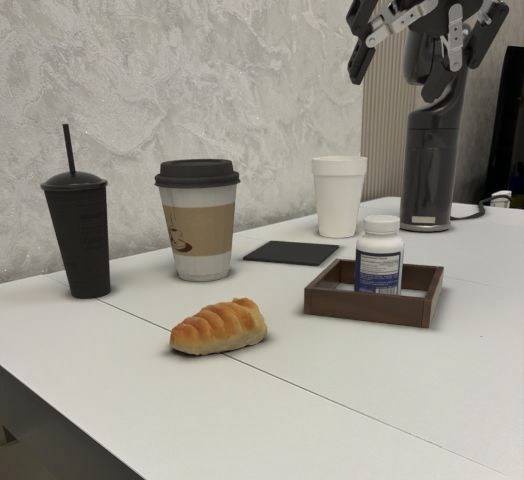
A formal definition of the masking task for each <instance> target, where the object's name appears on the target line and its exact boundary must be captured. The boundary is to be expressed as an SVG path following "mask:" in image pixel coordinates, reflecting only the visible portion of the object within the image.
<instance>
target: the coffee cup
mask: <svg viewBox="0 0 524 480" xmlns="http://www.w3.org/2000/svg"><path fill="white" fill-rule="evenodd" d="M159 166H160V167H159V173H157V174H156V175H154V181H155V182H154V184H153V185H154V186H155V187H158V191H159V192H158V193H159V197H160V201H161V206H162V210H163V215H164V220H165V224H166V228H167V229H166V230H167V234H168V239H169V244H170V247H171V252H172V257H173V260H174V265H175V270H176V271H177V273H178V277H179V278H180V279H182V280H184V281H188V282H199V283H200V282H212V281H213V282H214V281H217V280H221V279H224V278H226V277H228V276H229V274H230V269H231V264H232V262H231V261H232V251H233V238H234V226H235V225H234V224H235V211H236V201H237V200H236V199H237V186H238V184H240V183H242V181H241V179H240V171H239V172H238V171H236V170H234V164H233V160H230V159H226V158H224V159H223V158H188V159H185V158H184V159H174V160H167V161H162V162H160V165H159Z"/></svg>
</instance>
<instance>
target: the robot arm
mask: <svg viewBox="0 0 524 480" xmlns="http://www.w3.org/2000/svg"><path fill="white" fill-rule="evenodd" d="M379 1H380V0H352V2H351V4H350V6H349V9H348V11H347V13H346V15H345V21H346V24H347V26H348V27H349V29H350V32H351V34H352V35H353V36H355V37H357V42H356V43H355V46H354V47H353V50H352V52H351V55H350V56H349V57H350V58H349V60H348V62H347V67H346V68H347V69H346V70H347V72H348V77H349V79H350V83H351V84H352V85H355V86H360V85H361V84H362V82H363V80H364V78H365V76H366V73H367V71H368V69H369V68H370V65H371V63H372V60H373V58H374V56H375V54H376V52H377V49H376V48H375V47H376V46H377V45H379V44H380V43H382V42H383V41H384V40H386V39H387V38H388V37H390V36H395V35H398V34H399V33H400V32H401V31H403V30H405V29H406V28H407V32H406V36H405V40H404V45H403V50H402V56H401V75H402V79H403V81H404V82H405V83H406V84H407V85H409V86H415V87H416V86H418V87H422V88H421V91H420V97H421V98H422V100H423V102H424V103H426V104H425V105H422V106H420V107H417V108H414V109H412V110H410V111H409V112H408V114H407V115H406V123H405V124H406V125H405V128H406V129H405V138H404V149H403V151H404V152H403V163H402V176H401V187H400V189H401V190H400V202H399V213H398V217H399V218H400V228H399V229H402V230H406V231H411V232H412V231H413V232H425V233H426V232H428V233H429V232H430V233H431V232H441V231H446V230H449V229H450V228H451V221H462V220H471V219H475V218H477V217H480V216H483V215H484V214H485V213H486V208H485V207H484V204H485V203H489V202H491V201H494V200H496V199H507V200H508V201H509V202H512V203H513V202H514V199H513V198H512V196H510V195H508V194H496V195H493V196H490V197H488V198H485V199H482V200H479V202H478V206H479V210H480V211H477V212H475V213H473V214H470V215H467V216H464V217H455V216H452V215H451V214H452V209H453V208H452V207H453V199H454V190H455V182H456V174H457V164H458V156H459V149H460V148H459V147H460V139H461V130H462V129H461V128H462V120H463V116H464V115H463V114H464V110H465V103H466V96H467V95H466V94H467V88H468V81H469V75H470V70H476V69H478V68H479V67H480V66H481V64H482V62H483V60H484V58H485V56H486V55H487V53H488V51H489V50H490V47H491V46H492V44H493V42H494V40H495V38H496V37H497V35H498V33H499V31H500V29H501V28H502V26H503V24H504V22H505V20H506V19H507V16H508V15H509V13H510V7H509V5H508V4H507V3H506V2H505V1H504V0H388V1H387V2H386V3H385V4H383V5H382V6H381V7H380V8H379V11H378V12H377V13H375V14H374V15H373V13H374V11H375V9H376V7H377V5H378V3H379ZM475 14H476V19H477V20H476V22H475V23H474V25H473V27H472V25H471V24H470V23H468V22H466V21H467V20H468V19H470V18H471V17H473V16H474V15H475ZM372 15H373V16H372Z"/></svg>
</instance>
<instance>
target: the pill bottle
mask: <svg viewBox="0 0 524 480" xmlns="http://www.w3.org/2000/svg"><path fill="white" fill-rule="evenodd" d="M400 229H401V228H400V218H399V216H396V215H390V214H373V215H367V216H364V217H363V221H362V231H363V232H364V234H363V235H362V236H360V237H359V238H357V240H356V243H355V258H354V260H355V280H354V284H353V291H361V292H371V293H382V294H392V295H401V294H402V293H401V292H402V288H401V282H402V269H403V264H404V255H405V241H404V239H403V238H402V237H401V236H399V235H398V233H399V231H400Z"/></svg>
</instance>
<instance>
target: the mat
mask: <svg viewBox="0 0 524 480" xmlns="http://www.w3.org/2000/svg"><path fill="white" fill-rule="evenodd" d="M339 248H340V245H339V244H330V243H329V244H328V243H327V244H326V243H312V242H298V241H286V240H285V241H283V240H269V241H267V242H266V243H264V244H262V245H261V246H259V247H257V248H256V249H254V250H252V251H251V252H249V253H247V254H246V255H244V256H243V257H242V260H243V261H253V262H266V263H277V264H278V263H279V264H289V265H290V264H291V265H301V266H302V265H303V266H314V267H319V266H320V265H321V264H322V263H323V262H325V261H326V260H327V259H328V258H329V257H330V256H331V255H332V254H333V253H335V252H336V251H337V250H338V249H339Z"/></svg>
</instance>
